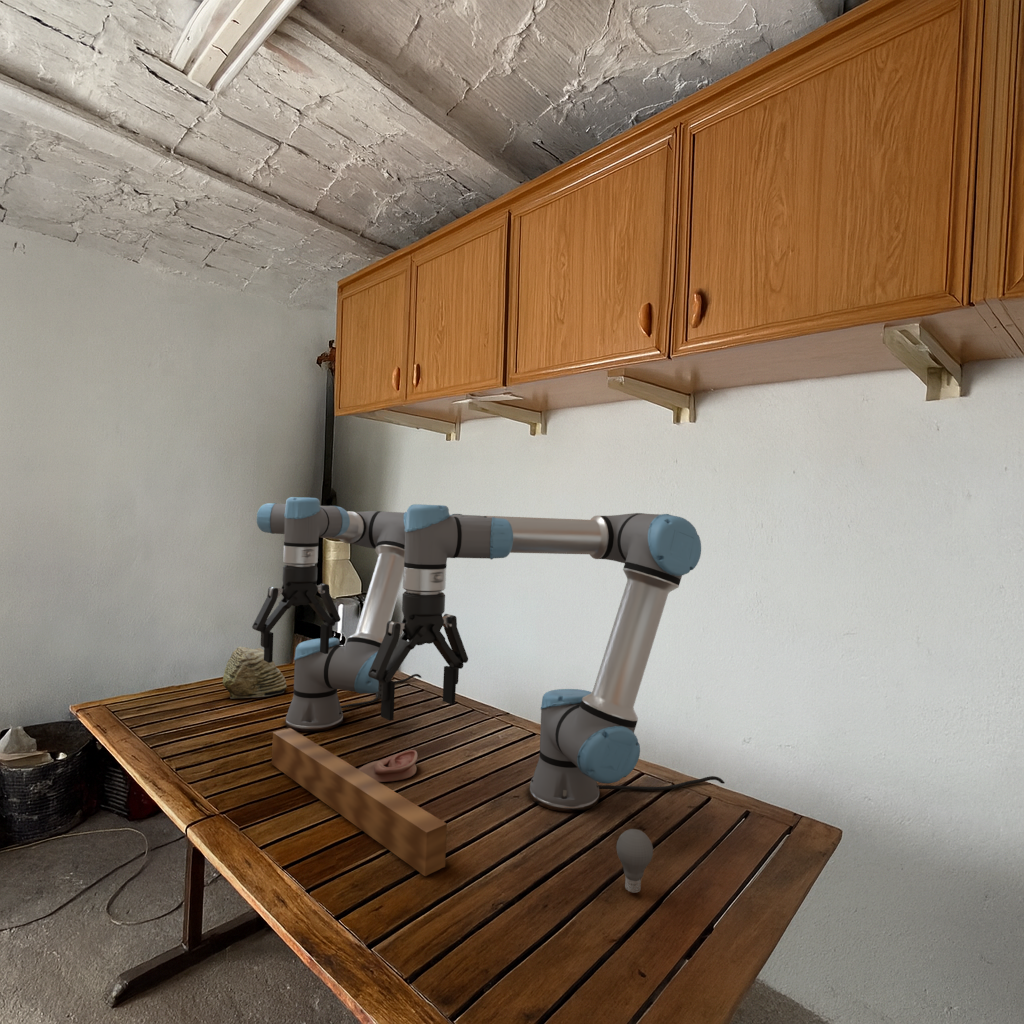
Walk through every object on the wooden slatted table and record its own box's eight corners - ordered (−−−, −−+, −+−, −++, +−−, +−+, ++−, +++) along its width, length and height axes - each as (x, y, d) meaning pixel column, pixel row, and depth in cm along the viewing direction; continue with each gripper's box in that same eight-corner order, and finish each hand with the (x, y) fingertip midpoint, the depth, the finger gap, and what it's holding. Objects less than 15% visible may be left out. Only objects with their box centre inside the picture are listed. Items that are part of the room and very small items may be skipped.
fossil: (218, 695, 195) (220, 647, 195) (278, 685, 208) (279, 640, 207) (228, 703, 189) (230, 653, 188) (289, 692, 201) (290, 645, 201)
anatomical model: (349, 761, 142) (371, 742, 154) (348, 778, 142) (370, 758, 154) (405, 768, 140) (423, 749, 151) (404, 786, 140) (422, 765, 151)
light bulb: (610, 879, 108) (613, 822, 108) (644, 879, 109) (647, 822, 109) (619, 902, 102) (622, 840, 102) (655, 901, 103) (658, 840, 103)
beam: (271, 764, 148) (272, 732, 148) (289, 759, 152) (290, 727, 151) (424, 876, 107) (426, 832, 107) (445, 866, 110) (447, 823, 110)
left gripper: (253, 568, 133) (249, 669, 134) (357, 564, 151) (353, 652, 151) (238, 565, 139) (235, 661, 139) (340, 560, 156) (337, 646, 157)
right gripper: (375, 599, 101) (370, 732, 101) (489, 589, 119) (484, 701, 119) (350, 593, 106) (345, 719, 107) (463, 584, 124) (458, 691, 124)
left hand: (296, 657), depth 145 cm, fingers open, 13 cm apart
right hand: (419, 710), depth 113 cm, fingers open, 13 cm apart
